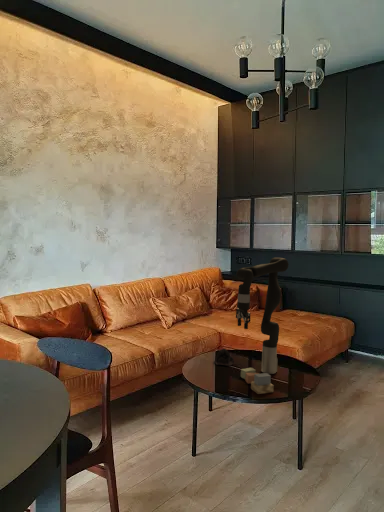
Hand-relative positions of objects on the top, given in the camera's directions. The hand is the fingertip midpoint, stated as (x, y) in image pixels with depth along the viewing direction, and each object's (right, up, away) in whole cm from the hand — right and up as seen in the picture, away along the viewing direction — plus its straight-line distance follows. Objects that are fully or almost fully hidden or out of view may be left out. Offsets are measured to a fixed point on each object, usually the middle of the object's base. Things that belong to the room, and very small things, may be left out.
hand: (242, 327), depth 240 cm
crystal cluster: (-9, -31, +30) cm, 44 cm away
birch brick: (+9, -33, -16) cm, 38 cm away
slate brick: (+9, -29, -16) cm, 35 cm away
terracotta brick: (+6, -33, -3) cm, 33 cm away
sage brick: (+4, -32, +5) cm, 33 cm away
